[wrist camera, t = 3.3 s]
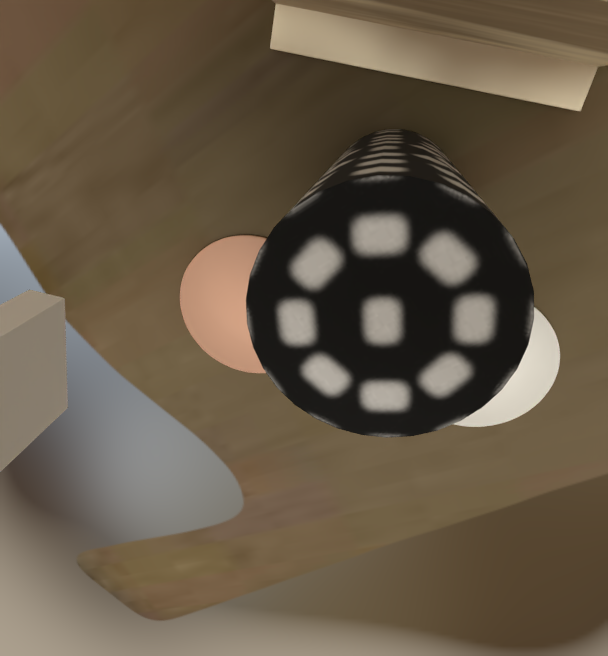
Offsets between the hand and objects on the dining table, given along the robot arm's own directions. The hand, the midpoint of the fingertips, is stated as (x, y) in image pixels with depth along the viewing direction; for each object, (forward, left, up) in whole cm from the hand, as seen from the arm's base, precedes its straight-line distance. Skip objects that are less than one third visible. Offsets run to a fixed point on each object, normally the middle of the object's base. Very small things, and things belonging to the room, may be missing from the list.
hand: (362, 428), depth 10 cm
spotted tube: (0, 0, -25) cm, 25 cm away
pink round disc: (+10, -8, -25) cm, 28 cm away
